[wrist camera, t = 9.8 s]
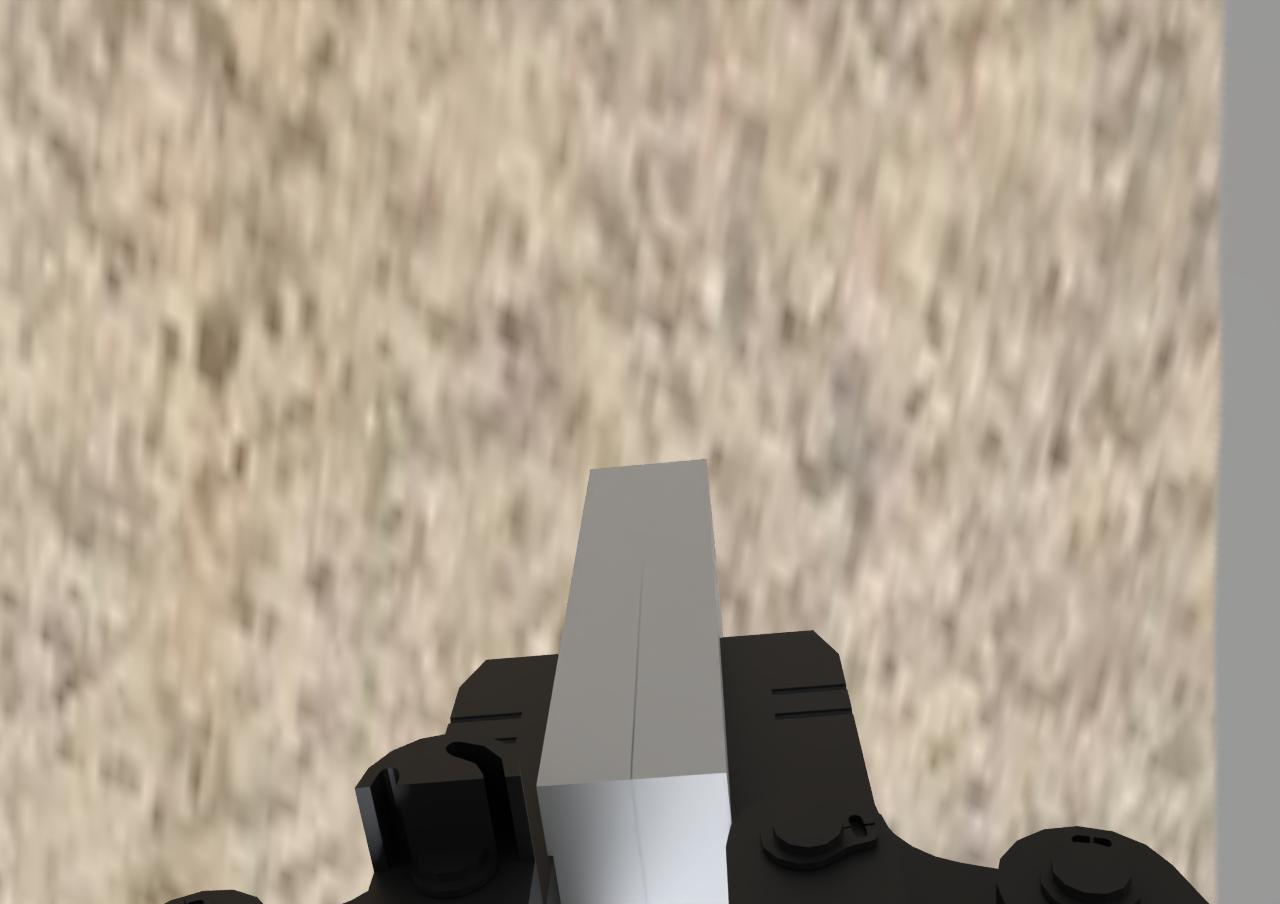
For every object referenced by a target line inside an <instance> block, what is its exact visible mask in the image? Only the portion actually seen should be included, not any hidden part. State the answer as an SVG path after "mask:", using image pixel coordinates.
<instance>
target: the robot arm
mask: <svg viewBox="0 0 1280 904" xmlns="http://www.w3.org/2000/svg"><path fill="white" fill-rule="evenodd" d="M450 720H451V723H450V724H448V727H447V730H446V734H444V735H439V736H434V737H428V738H423V739H419V740H417V741H414V742H412V743H410V744H407V745H405V746H403V747H400V748H398V749H395V750H393V751H391V752H390V753H388V754H387V755H386V756H384V757H383V758H382V759H380V760H379V761H378V762H376V763H375V764H374V765H372V766H371V767H369V768H368V770H367V771H366V773H365V774H364V775H363V777H362V778H361V780H360V781H359V783H358V784H357V786H356V787H355V791H356V796H357V800H358V804H359V809H360V813H361V817H362V822H363V826H364V830H365V834H366V839H367V843H368V847H369V852H370V856H371V860H372V865H373V869H374V875H373V878H372V881H371V884H370V887H369V890H368V891H367V892H365V893H363V894H362V895H360V896H358V897H356V898H355V899H353V900H351V901H348V902H346V903H343V904H1209V903H1208V902H1207V901H1206V900H1205V899H1204V898H1203V897H1202V896H1201V895H1200V894H1199V893H1198V892H1197V891H1196V890H1195V888H1194V887H1193V886H1192V885H1191V884H1190V883H1189V882H1188V881H1187V880H1186V879H1185V878H1184V877H1183V876H1182V875H1181V874H1180V873H1179V871H1178V870H1177V869H1176V868H1175V867H1174V866H1173V865H1172V864H1170V863H1169V862H1168V861H1167V860H1165V859H1164V858H1163V857H1161V856H1160V855H1159V854H1157V853H1156V852H1155V851H1153V850H1152V849H1151V848H1149V847H1148V846H1147V845H1145V844H1143V843H1140V842H1138V841H1135V840H1133V839H1130V838H1128V837H1125V836H1123V835H1120V834H1118V833H1115V832H1113V831H1106V830H1099V829H1093V828H1086V827H1079V826H1074V827H1063V828H1053V829H1044V830H1041V831H1039V832H1037V833H1034V834H1032V835H1029V836H1027V837H1025V838H1022V839H1020V840H1018V841H1016V842H1015V843H1014V845H1013V846H1012V847H1011V848H1010V849H1009V850H1008V851H1007V852H1006V853H1005V854H1004V855H1003V856H1002V857H1001V859H1000V863H999V868H998V869H995V868H989V867H983V866H977V865H971V864H965V863H960V862H955V861H951V860H947V859H943V858H939V857H935V856H933V855H931V854H928V853H926V852H924V851H921V850H919V849H917V848H915V847H912V846H911V845H909V844H908V843H907V842H905V841H904V840H902V839H901V838H899V837H898V836H897V835H895V834H894V833H893V832H892V831H891V830H890V829H889V827H888V826H887V824H886V822H885V821H884V819H883V817H882V815H881V814H879V813H878V811H877V808H876V806H875V804H874V799H873V795H872V791H871V787H870V783H869V779H868V774H867V770H866V766H865V762H864V758H863V753H862V749H861V745H860V741H859V737H858V732H857V728H856V724H855V720H854V716H853V714H852V707H851V703H850V699H849V695H848V691H847V689H846V682H845V678H844V674H843V670H842V665H841V661H840V657H839V654H838V653H837V652H836V651H835V650H834V649H833V648H832V647H831V646H829V645H828V644H827V643H826V642H825V641H824V640H823V639H822V638H821V637H820V636H819V635H818V634H817V633H815V632H814V631H813V630H810V631H798V632H785V633H773V634H760V635H748V636H735V637H723V627H722V616H721V606H720V595H719V585H718V574H717V564H716V553H715V543H714V532H713V522H712V511H711V501H710V490H709V479H708V469H707V459H701V460H690V461H679V462H668V463H656V464H645V465H634V466H623V467H612V468H601V469H590V475H589V481H588V487H587V493H586V498H585V504H584V510H583V516H582V522H581V528H580V534H579V539H578V545H577V551H576V557H575V563H574V569H573V574H572V580H571V586H570V592H569V598H568V604H567V609H566V615H565V621H564V627H563V633H562V639H561V645H560V650H559V654H554V655H541V656H529V657H516V658H504V659H491V660H486V661H485V662H484V663H483V664H482V665H481V666H480V667H479V668H478V669H477V670H476V671H475V672H474V673H473V674H472V675H471V676H470V677H469V678H468V679H467V680H466V681H465V682H464V683H463V684H462V685H461V686H460V687H459V690H458V694H457V697H456V700H455V704H454V707H453V710H452V714H451V717H450ZM165 904H263V903H262V902H261V901H260V900H259V899H258V898H257V897H255V896H252V895H248V894H245V893H242V892H239V891H236V890H215V891H201V892H198V893H195V894H191V895H188V896H184V897H181V898H178V899H174V900H171V901H169V902H167V903H165Z"/></svg>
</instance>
